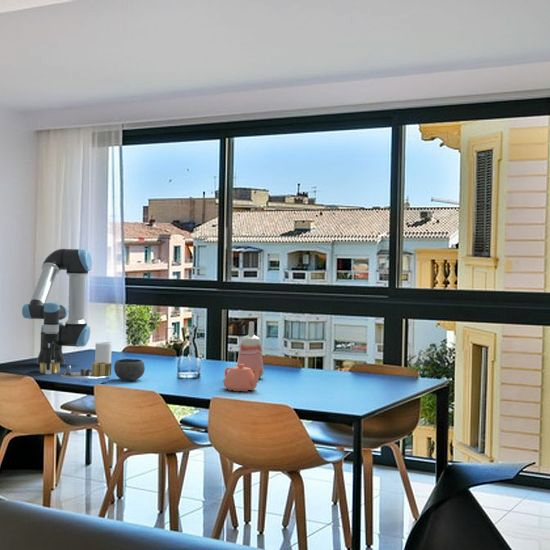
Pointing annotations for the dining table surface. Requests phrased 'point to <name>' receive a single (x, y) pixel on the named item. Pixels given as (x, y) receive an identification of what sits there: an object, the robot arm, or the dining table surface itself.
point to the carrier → (81, 375)
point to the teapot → (241, 378)
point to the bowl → (129, 369)
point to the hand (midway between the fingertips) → (49, 374)
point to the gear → (54, 367)
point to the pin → (68, 370)
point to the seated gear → (101, 369)
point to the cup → (103, 352)
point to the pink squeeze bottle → (251, 351)
